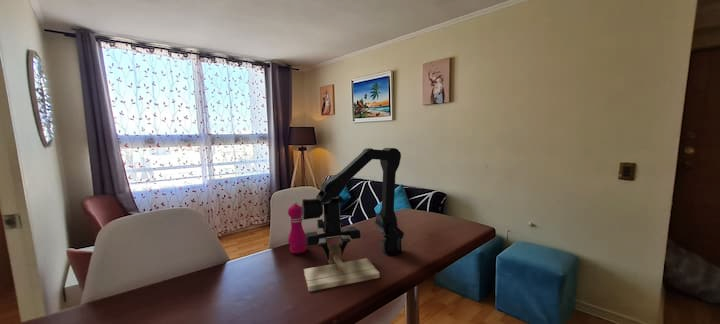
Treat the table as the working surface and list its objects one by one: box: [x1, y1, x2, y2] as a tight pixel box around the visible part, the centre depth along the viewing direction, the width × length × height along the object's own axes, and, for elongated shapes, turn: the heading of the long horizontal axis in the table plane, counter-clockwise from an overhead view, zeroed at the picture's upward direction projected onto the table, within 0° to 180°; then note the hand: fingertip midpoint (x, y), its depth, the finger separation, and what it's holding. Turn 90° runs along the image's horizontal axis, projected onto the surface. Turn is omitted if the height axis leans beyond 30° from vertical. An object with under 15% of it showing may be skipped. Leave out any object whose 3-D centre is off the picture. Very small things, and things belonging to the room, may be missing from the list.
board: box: [303, 257, 381, 293], centre depth 92 cm, size 22×12×2 cm, turn 108°
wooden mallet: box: [327, 242, 345, 272], centre depth 96 cm, size 4×16×6 cm, turn 18°
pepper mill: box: [287, 200, 307, 254], centre depth 113 cm, size 7×7×20 cm
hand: (334, 259), depth 101 cm, fingers closed on wooden mallet, 4 cm apart
